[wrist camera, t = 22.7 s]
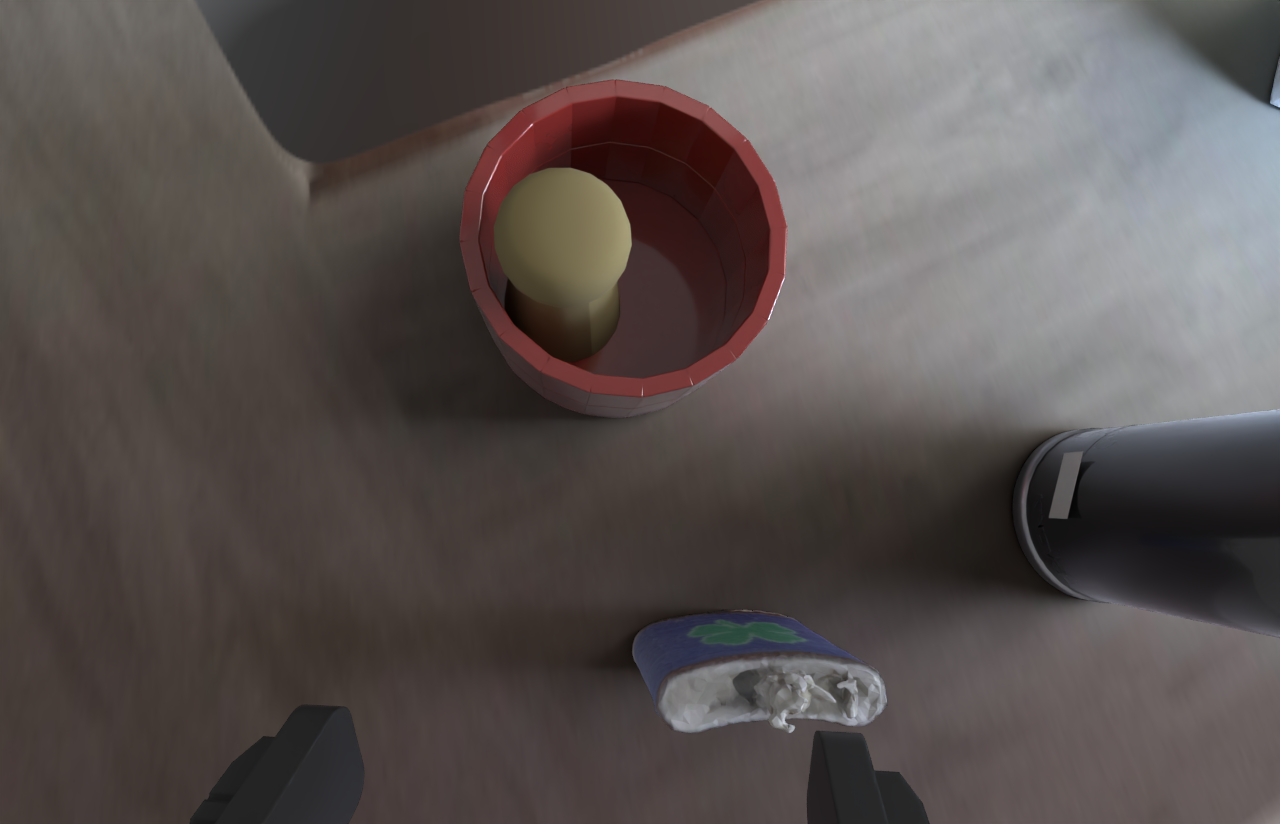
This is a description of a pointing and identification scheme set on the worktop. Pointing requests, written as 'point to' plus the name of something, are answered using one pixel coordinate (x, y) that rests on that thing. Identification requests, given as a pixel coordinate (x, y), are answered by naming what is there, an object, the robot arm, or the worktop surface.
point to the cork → (563, 260)
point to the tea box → (1276, 88)
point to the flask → (752, 673)
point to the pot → (640, 241)
